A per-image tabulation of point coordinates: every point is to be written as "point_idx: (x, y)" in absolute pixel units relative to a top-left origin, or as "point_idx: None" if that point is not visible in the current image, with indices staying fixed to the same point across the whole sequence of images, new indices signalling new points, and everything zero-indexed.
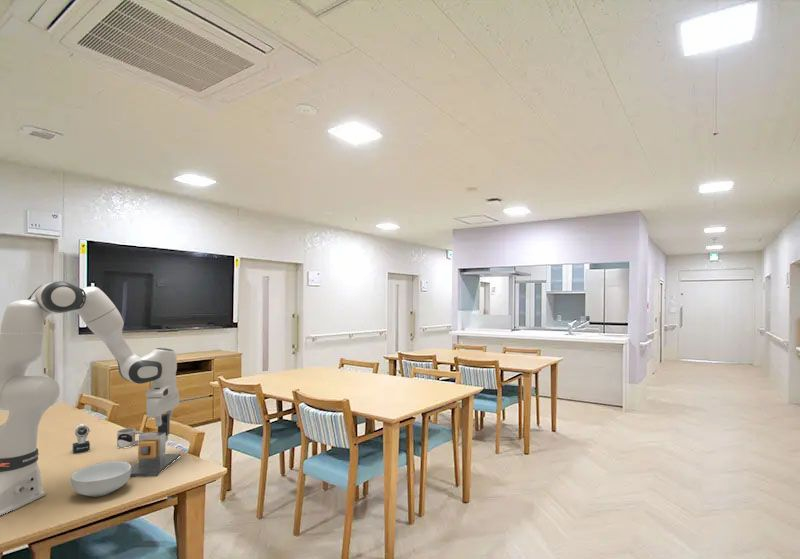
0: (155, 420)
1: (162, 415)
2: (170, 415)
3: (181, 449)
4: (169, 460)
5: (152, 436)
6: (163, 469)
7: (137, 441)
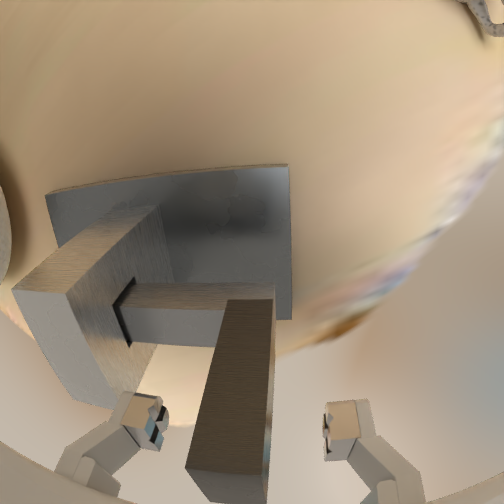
0: (90, 431)
1: (198, 486)
2: (351, 463)
3: (398, 269)
4: None
5: (53, 362)
6: None
7: (478, 12)
